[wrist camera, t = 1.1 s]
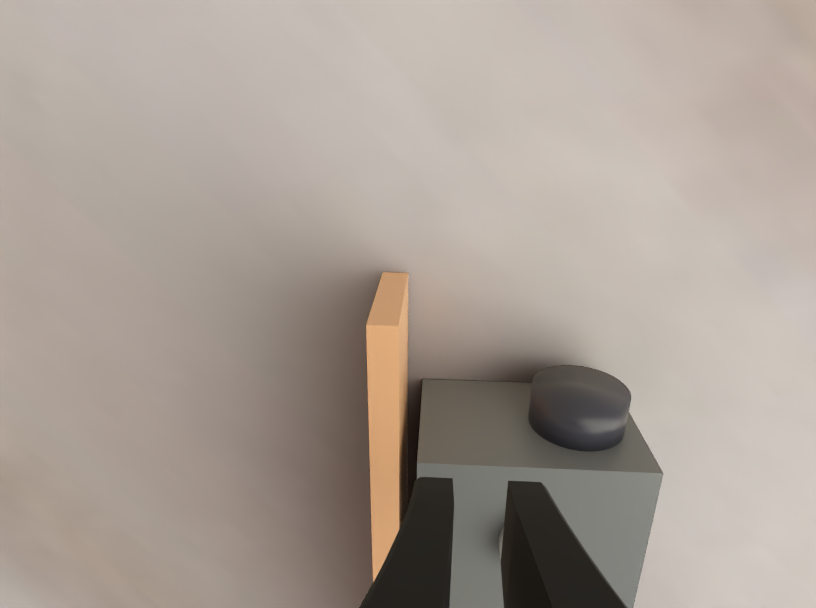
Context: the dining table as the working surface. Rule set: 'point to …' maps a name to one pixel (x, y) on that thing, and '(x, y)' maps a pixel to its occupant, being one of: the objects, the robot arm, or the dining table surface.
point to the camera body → (540, 470)
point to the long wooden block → (387, 411)
